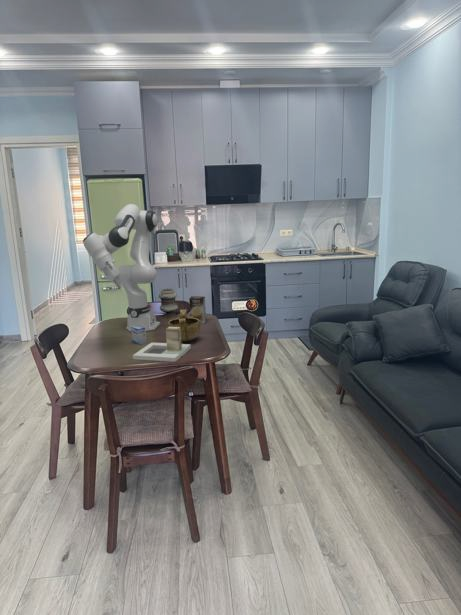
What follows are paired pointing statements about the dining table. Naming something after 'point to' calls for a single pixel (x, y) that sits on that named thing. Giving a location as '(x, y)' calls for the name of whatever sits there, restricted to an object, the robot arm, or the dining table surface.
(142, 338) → the medicine box
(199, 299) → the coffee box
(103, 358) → the dining table surface
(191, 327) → the ceramic bowl
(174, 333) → the birch block
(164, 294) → the apothecary jar
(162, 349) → the hole board
